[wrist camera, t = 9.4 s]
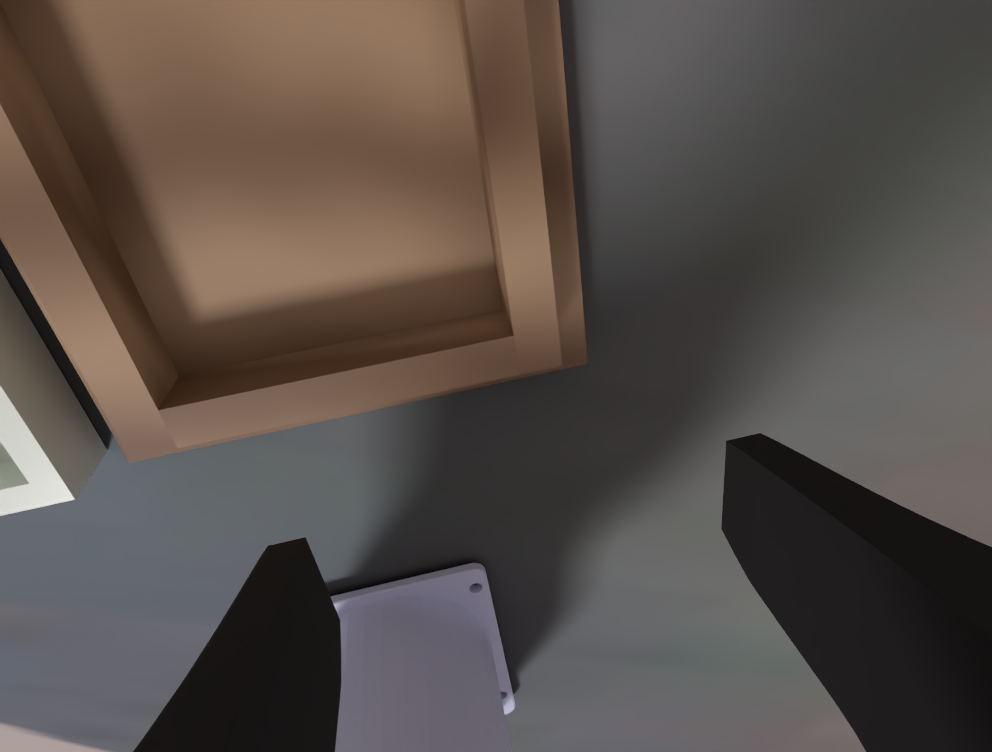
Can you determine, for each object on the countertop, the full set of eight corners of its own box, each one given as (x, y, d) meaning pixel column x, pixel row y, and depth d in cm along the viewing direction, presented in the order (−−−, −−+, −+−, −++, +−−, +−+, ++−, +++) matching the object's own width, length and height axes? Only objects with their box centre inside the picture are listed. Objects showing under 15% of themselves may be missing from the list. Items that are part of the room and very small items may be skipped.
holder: (578, 350, 20) (606, 392, 17) (141, 443, 19) (105, 503, 16) (526, -235, 13) (562, -301, 10) (-178, -137, 12) (-325, -184, 9)
